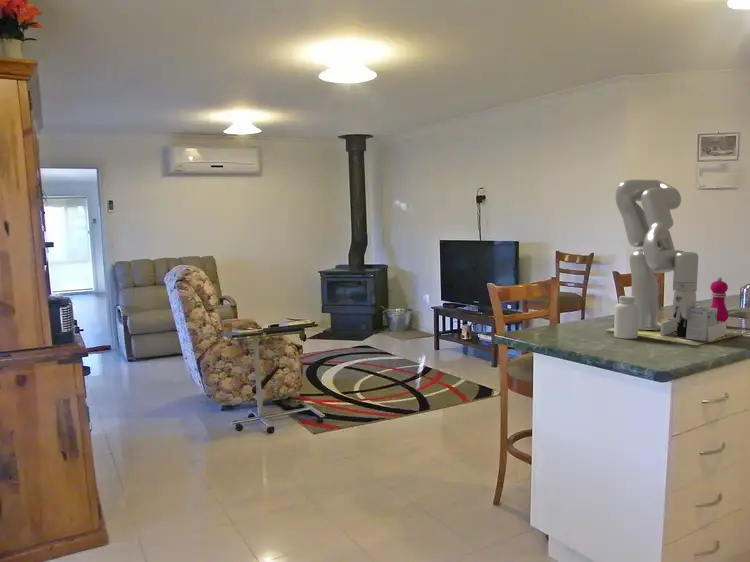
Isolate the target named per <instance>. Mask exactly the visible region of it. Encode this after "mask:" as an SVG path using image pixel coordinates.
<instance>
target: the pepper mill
mask: <svg viewBox="0 0 750 562" xmlns="http://www.w3.org/2000/svg"><path fill="white" fill-rule="evenodd" d="M722 280H723V278H722V277H720V276H718V277H717V278H716V280H715V281H713V282H712V283H711V284H710V288H709V289H710V290H711V292H712V293H711V297H712V303H711V304H710V305H711V306H710V307H709V308H717V319H716V321H720V322H726V321H728V319H729V312H728V309H727V308H726V307H727V306H726V303H725V301H726V300H725V298H726V297H727V293H726V292H728V289H729V286H728V284H727V283H726V282H725V281H722ZM727 326H728V323H727V322H726V328H727Z"/></svg>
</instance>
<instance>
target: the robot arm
mask: <svg viewBox="0 0 750 562" xmlns="http://www.w3.org/2000/svg"><path fill="white" fill-rule="evenodd" d="M637 202H641V205H642V207H641V206H640V205H639V204H638V203H637ZM681 203H682V197H681V193H680V191H679V190H678V189H676V187H674V186H671V184H668V183H666V182H664V181H662V180H658V179H628V180H627V179H626V180H623V181H622V182H620V183H618V185H617V187H616V191H615V204H616V207H617V209H618V211H619V214H620V215H621V218H622V220H623V221H622V222H623V225H624V229H625V234H626V236H627V240H628V243H629V245H630V246H632V247H633V248H638V249H636V250H634V251H633V252H632V253H631V254H630V256H629V267H630V273H631V295H630V296H633V297H635V301H634V304H636V305H637V306H638V331H646V330H654V331H660V330H661V324H658V306H659V302H658V301H659V283H658V279H657V278H656V276H655V275H654V274H657V273H669V272H673V280H672V281H673V283H672V291H674V292H673V300H672V318H673V319H675V318H676V320H675V322H677V332H676V337H677V338H683V339H686V330H687V319H690V315H691V309H695V308H696V307H697V290H698V275H699V274H698V273H699V255H698V253H697V252H695V251H693V252H692V251H683V250H681V249H680V250H679V249H677V250H676V249H675V246H674V242H673V239H672V235H671V233H670V229H671V228H672V227H673V226H674V219H673V217H672V214H671V211H673V210H677V208H679V207H680V205H681ZM659 329H660V330H659Z"/></svg>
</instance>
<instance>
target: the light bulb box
mask: <svg viewBox="0 0 750 562" xmlns="http://www.w3.org/2000/svg"><path fill="white" fill-rule="evenodd" d="M716 319H717V308H710V307H706V306H705V307H704V306H696V308H695V309H691V315H690V319H687V330H686V338H685V339H687V340H693V341H701V342H708V341H707V340H708V327H710V326H713V325H716Z"/></svg>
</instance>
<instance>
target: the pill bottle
mask: <svg viewBox="0 0 750 562" xmlns="http://www.w3.org/2000/svg"><path fill="white" fill-rule="evenodd" d="M634 301H635V297H633V296H631V295H620V296H619V297H618V302H619V303H617V304H615V305H614V320H613V324H614V325H613V326H614V328H613V336H614V337H615V338H617V339H623V340H624V339H625V340H627V339H628V340H630V339H631V340H634V339H638V336H639V335H638V334H639V333H638V332H639V330H638V306H637V305H636V304H634Z"/></svg>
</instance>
